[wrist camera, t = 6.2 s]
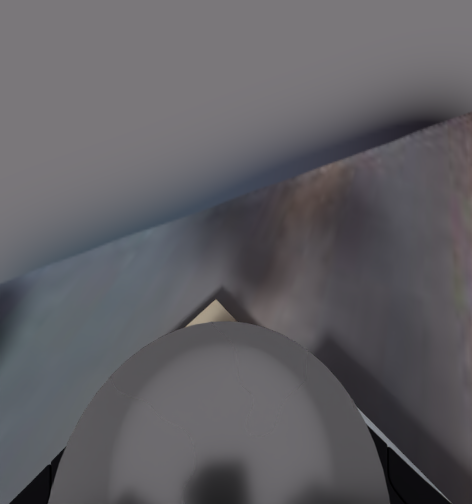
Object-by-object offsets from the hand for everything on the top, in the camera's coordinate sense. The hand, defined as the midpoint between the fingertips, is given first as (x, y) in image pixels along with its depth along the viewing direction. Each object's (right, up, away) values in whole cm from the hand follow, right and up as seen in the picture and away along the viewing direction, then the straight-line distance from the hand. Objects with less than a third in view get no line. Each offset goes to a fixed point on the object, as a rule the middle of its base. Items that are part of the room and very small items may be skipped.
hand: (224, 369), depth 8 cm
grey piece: (0, -3, +4) cm, 5 cm away
